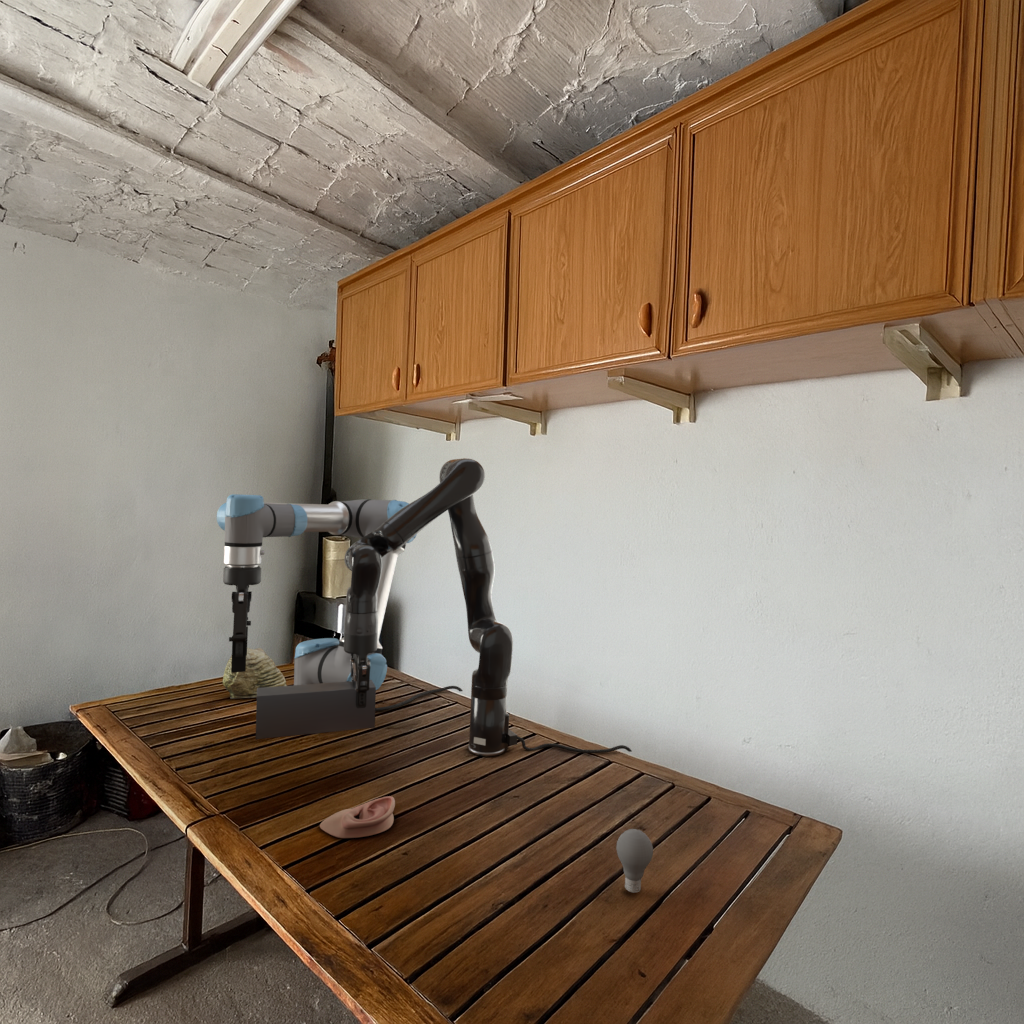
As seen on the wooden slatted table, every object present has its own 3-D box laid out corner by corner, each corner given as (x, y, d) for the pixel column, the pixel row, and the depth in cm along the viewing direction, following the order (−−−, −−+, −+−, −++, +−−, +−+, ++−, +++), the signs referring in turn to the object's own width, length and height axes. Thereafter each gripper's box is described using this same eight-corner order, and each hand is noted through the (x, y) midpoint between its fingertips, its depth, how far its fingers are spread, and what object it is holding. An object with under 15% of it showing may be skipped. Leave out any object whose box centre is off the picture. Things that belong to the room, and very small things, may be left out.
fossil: (218, 695, 195) (220, 647, 195) (278, 685, 208) (279, 640, 207) (228, 703, 189) (230, 653, 188) (289, 692, 201) (290, 645, 201)
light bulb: (610, 879, 108) (613, 822, 108) (644, 879, 109) (647, 822, 109) (619, 902, 102) (622, 840, 102) (655, 901, 103) (658, 840, 103)
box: (255, 739, 135) (256, 696, 135) (256, 729, 141) (257, 687, 141) (374, 727, 144) (375, 687, 144) (370, 718, 150) (371, 679, 150)
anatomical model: (312, 812, 119) (340, 786, 130) (311, 833, 119) (340, 805, 130) (378, 823, 116) (401, 795, 127) (377, 844, 116) (401, 814, 127)
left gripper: (261, 572, 127) (257, 678, 127) (261, 559, 150) (258, 648, 150) (220, 572, 124) (216, 680, 124) (226, 559, 147) (223, 650, 148)
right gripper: (382, 636, 140) (380, 711, 141) (372, 623, 154) (370, 692, 154) (348, 638, 137) (345, 714, 138) (340, 625, 151) (338, 694, 151)
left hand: (239, 663), depth 137 cm, fingers open, 13 cm apart
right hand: (359, 702), depth 146 cm, fingers closed on box, 6 cm apart
